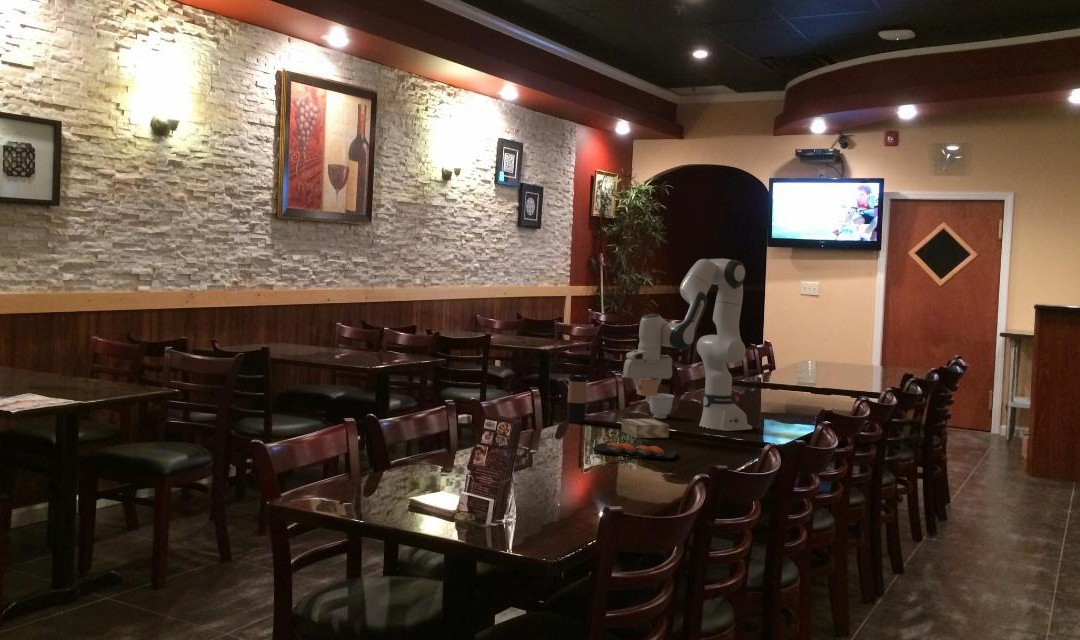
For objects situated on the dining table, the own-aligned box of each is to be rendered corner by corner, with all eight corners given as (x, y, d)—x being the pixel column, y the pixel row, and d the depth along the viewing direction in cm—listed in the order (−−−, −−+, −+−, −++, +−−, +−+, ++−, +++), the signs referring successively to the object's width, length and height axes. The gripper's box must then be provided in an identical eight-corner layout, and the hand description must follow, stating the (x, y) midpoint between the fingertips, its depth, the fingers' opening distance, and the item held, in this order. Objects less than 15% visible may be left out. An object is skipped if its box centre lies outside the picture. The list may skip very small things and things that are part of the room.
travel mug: (564, 420, 401) (566, 373, 400) (581, 420, 404) (583, 374, 402) (570, 423, 394) (572, 376, 393) (587, 423, 396) (589, 376, 395)
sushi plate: (678, 455, 340) (679, 445, 339) (665, 472, 311) (666, 461, 311) (599, 447, 348) (599, 437, 347) (579, 463, 319) (580, 452, 319)
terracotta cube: (650, 393, 380) (651, 378, 380) (657, 395, 375) (657, 380, 375) (636, 393, 378) (637, 378, 378) (643, 395, 373) (644, 380, 372)
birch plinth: (652, 430, 387) (653, 418, 386) (668, 437, 373) (669, 424, 373) (621, 431, 382) (621, 419, 382) (636, 437, 369) (637, 425, 368)
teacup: (654, 413, 434) (656, 391, 433) (679, 418, 422) (680, 396, 422) (636, 415, 426) (637, 393, 425) (660, 420, 414) (661, 397, 414)
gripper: (668, 354, 382) (666, 388, 383) (622, 353, 375) (620, 388, 376) (676, 355, 376) (674, 390, 377) (629, 355, 369) (627, 390, 370)
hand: (647, 389), depth 377 cm, fingers closed on terracotta cube, 6 cm apart
